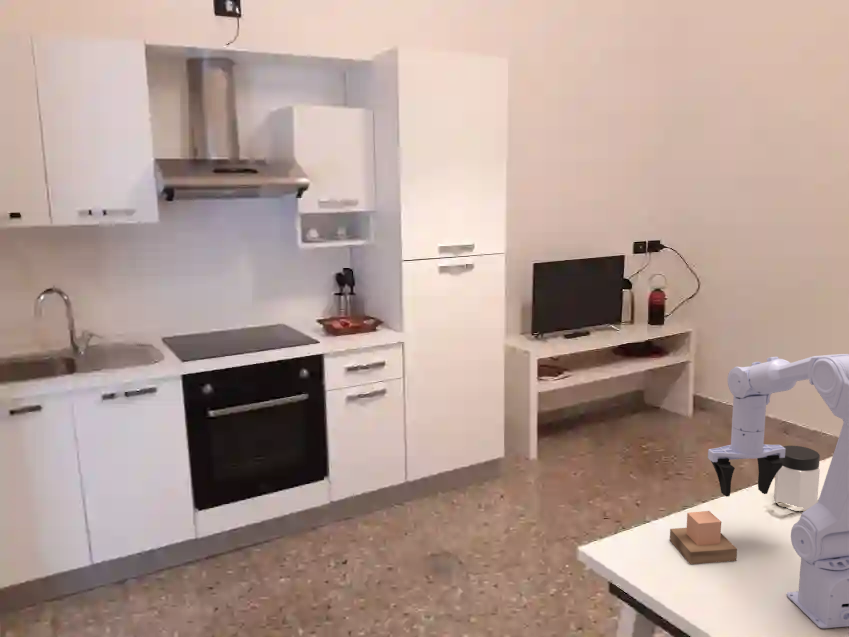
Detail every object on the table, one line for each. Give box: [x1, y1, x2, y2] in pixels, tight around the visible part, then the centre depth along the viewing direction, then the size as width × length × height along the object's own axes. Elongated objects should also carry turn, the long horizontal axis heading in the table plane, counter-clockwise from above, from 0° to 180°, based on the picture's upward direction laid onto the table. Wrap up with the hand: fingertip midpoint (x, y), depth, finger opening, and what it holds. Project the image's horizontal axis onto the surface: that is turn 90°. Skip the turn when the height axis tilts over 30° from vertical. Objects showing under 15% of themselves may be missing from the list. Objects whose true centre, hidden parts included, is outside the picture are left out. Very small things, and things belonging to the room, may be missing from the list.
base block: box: [669, 527, 738, 565], centre depth 134 cm, size 9×9×2 cm
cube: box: [686, 510, 722, 545], centre depth 134 cm, size 4×4×4 cm
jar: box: [773, 445, 821, 510], centre depth 151 cm, size 9×8×12 cm
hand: (744, 493), depth 135 cm, fingers open, 7 cm apart
